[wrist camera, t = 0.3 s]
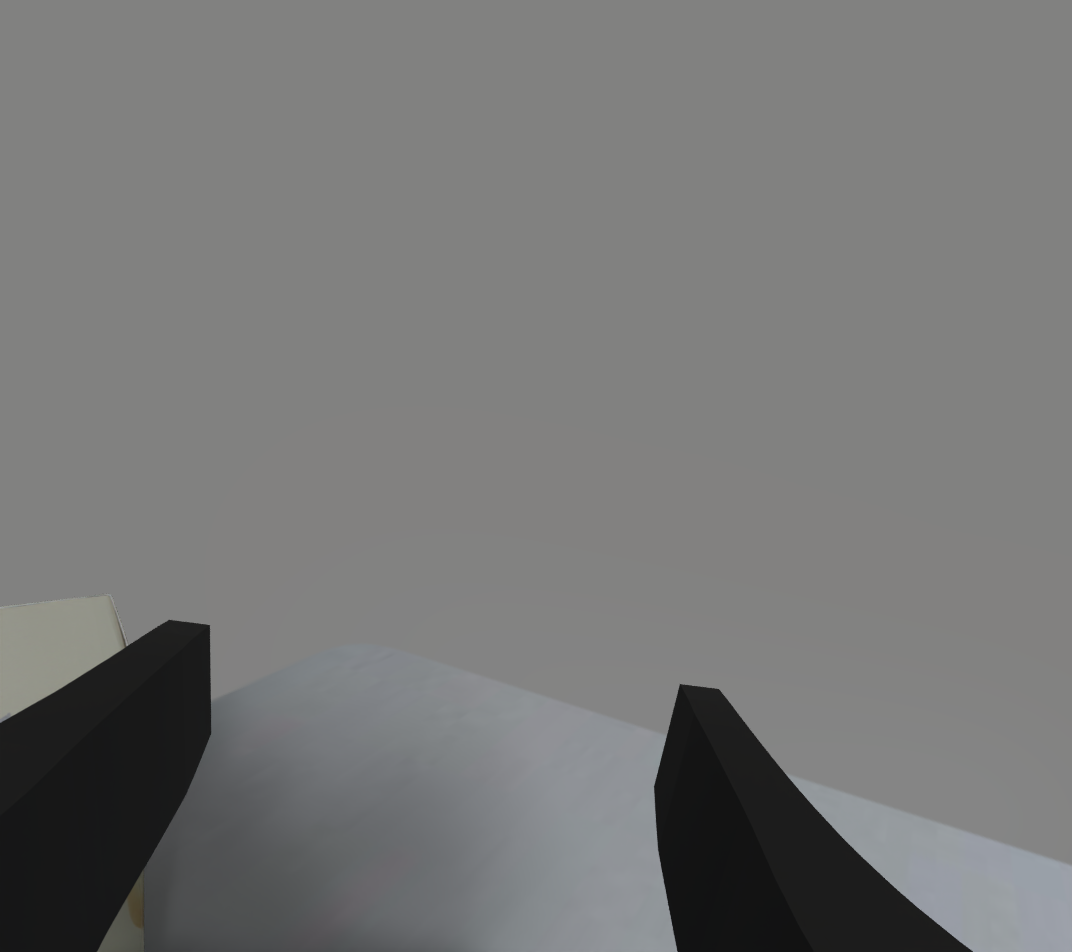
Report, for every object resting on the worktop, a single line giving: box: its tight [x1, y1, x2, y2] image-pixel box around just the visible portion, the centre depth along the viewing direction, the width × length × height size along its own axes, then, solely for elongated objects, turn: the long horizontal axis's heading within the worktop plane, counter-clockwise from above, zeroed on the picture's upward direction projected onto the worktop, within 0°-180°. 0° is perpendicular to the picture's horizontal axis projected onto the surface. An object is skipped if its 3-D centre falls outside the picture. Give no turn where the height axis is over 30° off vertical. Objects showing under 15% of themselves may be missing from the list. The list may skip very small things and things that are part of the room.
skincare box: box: [0, 594, 144, 952], centre depth 26 cm, size 6×4×12 cm
